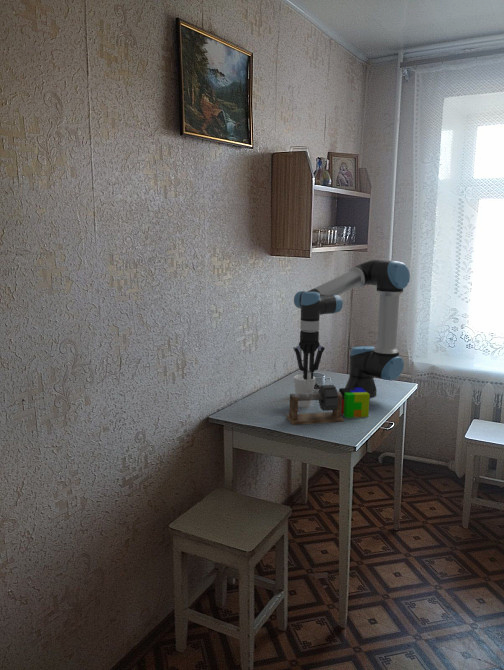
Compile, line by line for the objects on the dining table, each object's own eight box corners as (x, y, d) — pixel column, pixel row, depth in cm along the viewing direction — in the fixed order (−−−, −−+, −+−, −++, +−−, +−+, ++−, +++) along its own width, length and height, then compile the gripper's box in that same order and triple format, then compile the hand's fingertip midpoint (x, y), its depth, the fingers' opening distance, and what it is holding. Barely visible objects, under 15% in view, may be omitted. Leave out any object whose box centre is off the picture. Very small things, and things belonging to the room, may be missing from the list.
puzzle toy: (359, 409, 241) (361, 387, 239) (368, 416, 232) (369, 394, 230) (338, 410, 240) (339, 388, 238) (346, 417, 230) (347, 395, 228)
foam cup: (312, 409, 240) (314, 380, 237) (292, 407, 242) (292, 379, 239) (314, 402, 249) (315, 375, 246) (294, 401, 251) (295, 373, 248)
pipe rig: (336, 414, 233) (337, 388, 231) (343, 421, 225) (345, 395, 223) (286, 417, 229) (287, 391, 227) (292, 424, 220) (293, 397, 218)
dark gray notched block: (328, 403, 233) (330, 381, 230) (337, 413, 223) (338, 390, 221) (317, 404, 232) (319, 382, 229) (325, 413, 222) (327, 391, 220)
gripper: (321, 328, 224) (319, 383, 228) (291, 329, 221) (290, 385, 226) (328, 331, 217) (326, 388, 221) (296, 332, 214) (295, 390, 219)
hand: (307, 386), depth 223 cm, fingers closed
